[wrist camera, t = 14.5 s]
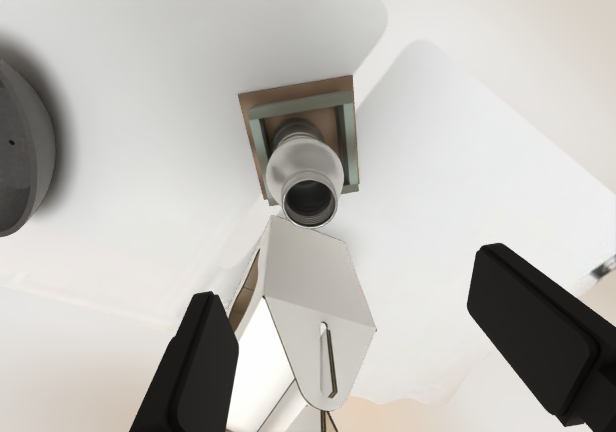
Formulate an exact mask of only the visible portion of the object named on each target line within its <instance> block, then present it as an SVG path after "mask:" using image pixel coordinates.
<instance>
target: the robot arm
mask: <svg viewBox="0 0 616 432" xmlns="http://www.w3.org/2000/svg"><path fill="white" fill-rule="evenodd" d="M467 309H468V312H469V313H470V315H471V316H472V318H473V319H474V320H475V321H476V323H477V324H478V325H479V326H480V328H481V329H482V330H483V331H484V333H485V334H486V335H487V336H488V338H489V339H490V340H491V342H492V343H493V344H494V345H495V347H496V348H497V349H498V350H499V352H500V353H501V354H502V355H503V357H504V358H505V359H506V360H507V362H508V363H509V364H510V365H511V367H512V368H513V369H514V370H515V372H516V373H517V374H518V375H519V377H520V378H521V379H522V381H523V382H524V383H525V384H526V385H527V387H528V388H529V389H530V391H531V392H532V393H533V394H534V396H535V397H536V398H537V399H538V401H539V402H540V403H541V404H542V406H543V407H544V408H545V409H546V410H547V411H548V412H549V413H550V414H552V415H555V416H556V417H557V418H558V419H559V420H560V422H561V423H562V424H563V426H564V427H567V426H573V425H579V424H584V423H586V424H587V425H588V426H589V427H590V429H592V431H593V432H616V327H615V326H613V325H612V324H611V323H609V322H608V321H607V320H605V319H604V318H603V317H601V316H600V315H598V314H597V313H596V312H594V311H593V310H592V309H590V308H589V307H588V306H586V305H585V304H584V303H582V302H581V301H580V300H578V299H577V298H576V297H574V296H573V295H572V294H570V293H569V292H568V291H566V290H565V289H563V288H562V287H561V286H559V285H558V284H557V283H555V282H554V281H553V280H551V279H550V278H549V277H547V276H546V275H545V274H543V273H542V272H541V271H539V270H538V269H536V268H535V267H534V266H532V265H531V264H530V263H528V262H527V261H526V260H524V259H523V258H522V257H520V256H519V255H518V254H516V253H515V252H514V251H512V250H511V249H510V248H508V247H507V246H505V245H504V244H502V243H495V244H489V245H484V246H482V247H481V248H480V250H479V251H477V252H476V256H475V262H474V268H473V273H472V279H471V284H470V290H469V295H468V301H467ZM238 356H239V344H238V341H237V339H236V336H235V334H234V331H233V329H232V326H231V324H230V322H229V319H228V317H227V314H226V312H225V310H224V307H223V305H222V302H221V300H220V297H219V296H218V295H214V294H213V292H212V291H209V292H203V293H197V294H194V295H193V297H192V299H191V301H190V304H189V306H188V308H187V311H186V313H185V315H184V317H183V320H182V322H181V324H180V326H179V329H178V331H177V333H176V336H175V337H173V338H172V339H171V341H170V342H169V344H168V346H167V349H166V351H165V353H164V355H163V357H162V360H161V362H160V364H159V366H158V369H157V371H156V373H155V375H154V377H153V380H152V382H151V384H150V386H149V388H148V391H147V393H146V395H145V397H144V400H143V402H142V404H141V406H140V408H139V411H138V413H137V415H136V417H135V420H134V422H133V424H132V426H131V428H130V431H129V432H225V431H226V425H227V419H228V414H229V408H230V402H231V396H232V391H233V385H234V379H235V374H236V368H237V362H238Z"/></svg>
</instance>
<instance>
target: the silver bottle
mask: <svg viewBox="0 0 616 432" xmlns="http://www.w3.org/2000/svg"><path fill="white" fill-rule="evenodd" d="M272 150H273V154H272V156H271V158H270V160H269V162H268V165H267V169H266V182H267V186H268V189H269V191H270V193H271V195H272V197H273V198H274V199H275V200H276V202H277V203H278V204H279V205H280V206H281V207H282V208H283V211H284V214H285V215H286V217H287V218H288V220H289V221H290V222H292V223H293V224H294V225H296V226H298V227H301V228H305V229H315V228H319V227H322V226H324V225H325V224H327V223H328V222H329V221H330V220H331V219H332V218H333V217H334V215H335V213H336V210H337V201H338V198H339V196H340V194H341V191H342V187H343V183H344V172H343V167H342V164H341V161H340V159H339V158H338V156H337V155H336V153H335V152H334V151H333V150H332V149H331V148H330V147H329V146H327V145H326V144H325V142H324V137H323V135H322V133H321V131H320V130H319V128H318V127H317V126H316V125H315V124H314V123H312V122H311V121H309V120H306V119H303V118H292V119H288V120H286V121H284V122H283V123H281V124H280V125H279V126H278V127H277V128H276V130H275V132H274V134H273V137H272Z"/></svg>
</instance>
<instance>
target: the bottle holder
mask: <svg viewBox="0 0 616 432" xmlns="http://www.w3.org/2000/svg"><path fill="white" fill-rule="evenodd" d="M238 97H239V101H240V105H241V109H242V113H243V117H244V121H245V125H246V129H247V133H248V137H249V141H250V145H251V149H252V153H253V157H254V161H255V165H256V169H257V173H258V177H259V182H260V186H261V190H262V194H263V198H264V200H266V199H268V201H269V205H270V206H273V205H279V204H278V203H277V202H276V200H275V199H274V198H273V197H272V195H271V193H270V191H269V189H268V186H267V182H266V169H267V165H268V162H269V160H270V158H271V156H272V154H273V150H272V137H273V134H274V132H275V130H276V128H277V127H278V126H279V125H280V124H281V123H283V122H284V121H286V120H288V119H292V118H303V119H306V120H309V121H311V122H312V123H314V124H315V125H316V126H317V127H318V128H319V130H320V131H321V133H322V135H323V137H324V142H325V144H326V145H327V146H329V147H330V148H331V149H332V150H333V151H334V152H335V153H336V155H337V156H338V158H339V159H340V161H341V164H342V167H343V172H344V183H343V187H342V191H341V194H345V193H351V192H357V191H359V188H358V184H359V169H358V154H357V138H356V122H355V107H354V91H353V75H350V76H344V77H338V78H332V79H327V80H321V81H315V82H309V83H303V84H297V85H291V86H285V87H279V88H274V89H268V90H262V91H256V92H250V93H244V94H238Z"/></svg>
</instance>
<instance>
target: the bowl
mask: <svg viewBox="0 0 616 432" xmlns="http://www.w3.org/2000/svg"><path fill="white" fill-rule="evenodd" d="M55 160H56V141H55V134H54V129H53V125H52V122H51V119H50V116H49V113H48V111H47V109H46V107H45V105H44V103H43V102H42V100H41V99H40V97H39V96H38V94H37V93H36V91H35V90H34V89H33V88H32V86H31V85H30V84H29V83H28V82H27V81H26V80H25V79H24V78H23V77H22V76H21V75H20V74H19V73H18V72H17V71H16V70H15V69H13V68H12V67H11V66H10V65H8V64H7V63H5V62H4V61H3V60H1V59H0V237H4V236H8V235H10V234H13V233H14V232H16V231H17V230H19V229H20V228H21V227H22V226H23V225H24V224H25V223H26V222H27V221H28V220H29V219H30V217H31V216H32V215H33V214H34V212H35V211H36V210H37V208H38V207H39V205H40V204H41V202H42V200H43V199H44V197H45V195H46V193H47V191H48V188H49V186H50V183H51V180H52V176H53V172H54V166H55Z"/></svg>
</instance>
